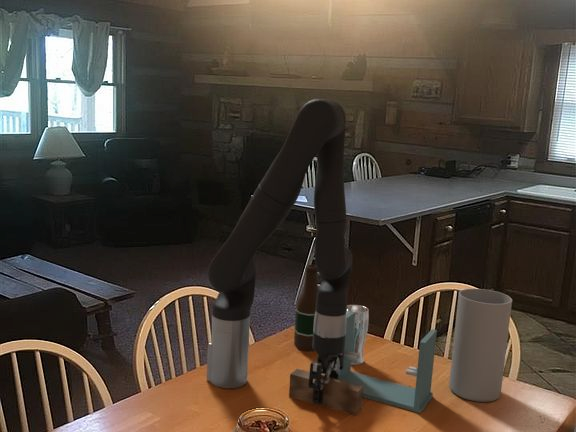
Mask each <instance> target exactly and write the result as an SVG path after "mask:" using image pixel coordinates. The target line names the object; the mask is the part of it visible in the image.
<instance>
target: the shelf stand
mask: <svg viewBox="0 0 576 432" xmlns="http://www.w3.org/2000/svg"><path fill="white" fill-rule="evenodd" d="M354 318H355V312H349V313H348V314H346V319H347V325H346V339H345V350H344V364H343V369H342V370H340V374H339V375H338V380H342V381H346V382H350V383H354V384H358V385H361V386H363V396H362V398H365V399H368V400H371V401H372V400H373V401H376V402H380V403H383V404H386V405H391V406H393V407H398V408H401V409H404V410H408V411H411V412H415V413H418V414H422V412H423V411H424V409H425V408H426V407H427V405H428V404H429V403H430V401H431V400H432V399H433V397H434V393H433V392H431V391H432V381H433V372H434V363H435V352H436V351H435V350H436V343H437V342H436V341H437V333H438V332H437V329H432V328H431V329H430V331H429V332H428V333H426V334H425V336H424V337H423V338H422V339H421V340H420V342H419V347H418V349H419V350H418V358H417V359H418V360H417V367H415V366H408V368H406V370H405V375H408V376H413V377H416V379H415V387H411V386H407V385H406V384H405V385H403V384H399V383H396V382H393V381H389V380H385V379H381V378H378V377H373V376H370V375H366V374H364V373H363V374H362V373H359V372H355V371H352V370H351V367H352V365H351V360H353V361H356V360H357V358H358V359H359V357H360V354H358V353H354V352H352V344H353V331H354ZM339 364H340V361H339Z"/></svg>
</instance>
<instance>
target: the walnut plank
mask: <svg viewBox="0 0 576 432" xmlns="http://www.w3.org/2000/svg"><path fill="white" fill-rule="evenodd" d="M309 374H310V371H307V370H304V369H299V368H296V369H294V370H293V371H292V372H291V373H290V376H289V388H288V389H289V390H288V397H289V398H291V399H296V400H297V401H298V400H299V401H303V402H306V403H309V404H312V405H316V406H319V407H322V408H327V409H331V410H334V411H337V410H338V411H337V412H340V411H341V412H342V413H344V412H345V414H347V413H348V414H347V415H351V416H354V415H355V416H354V417H356V416H357V415H358V414H359V413H360V412H361V411H362V406H363V397H362V396H363V386H361V385H358V384H354V383H350V382H346V381H342V380H338V379H335V378H331V377H329V378H328V380H327V381H325V384H324V387H323V402H322V404H320V405H319V404H316V403H313V388H309V387H308V385H309ZM313 380H314V379H313ZM321 381H322V379H321ZM359 411H360V412H359Z"/></svg>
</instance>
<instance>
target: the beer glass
mask: <svg viewBox="0 0 576 432" xmlns="http://www.w3.org/2000/svg"><path fill="white" fill-rule="evenodd" d="M369 311H370V310H369V308H368V307H366V306H364V305H359V304H347V310H346V314H348V313H349V312H355V318H354V331H353V344H352V352H354V353H358V354H360V357H359V359H358V358H357V360H356V361H353V360H351V366H359V365H362V364H363V363H364V359H365V358H364V348H365V342H366V338H367V336H368V335H367V334H368V332H369V331H368V330H369V317H370V316H369Z"/></svg>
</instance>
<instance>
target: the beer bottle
mask: <svg viewBox="0 0 576 432" xmlns="http://www.w3.org/2000/svg"><path fill="white" fill-rule="evenodd" d="M305 270H306V271H305V279H304V286H303V291H302V293H301V294H300V296H298V299H297V302H296V306H295V315H294V316H295V319H294V320H295V322H294V337H293V338H294V340H293V343H294V346H295V347H296V348H297V349H298V350H302V351H306V352H310V350H312V351H314V350H313V348H312V343H313V328H314V317H315V312H316V298H317V292H318V289H319V288H318V270H317V268H316V264H308V265H306V266H305Z"/></svg>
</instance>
